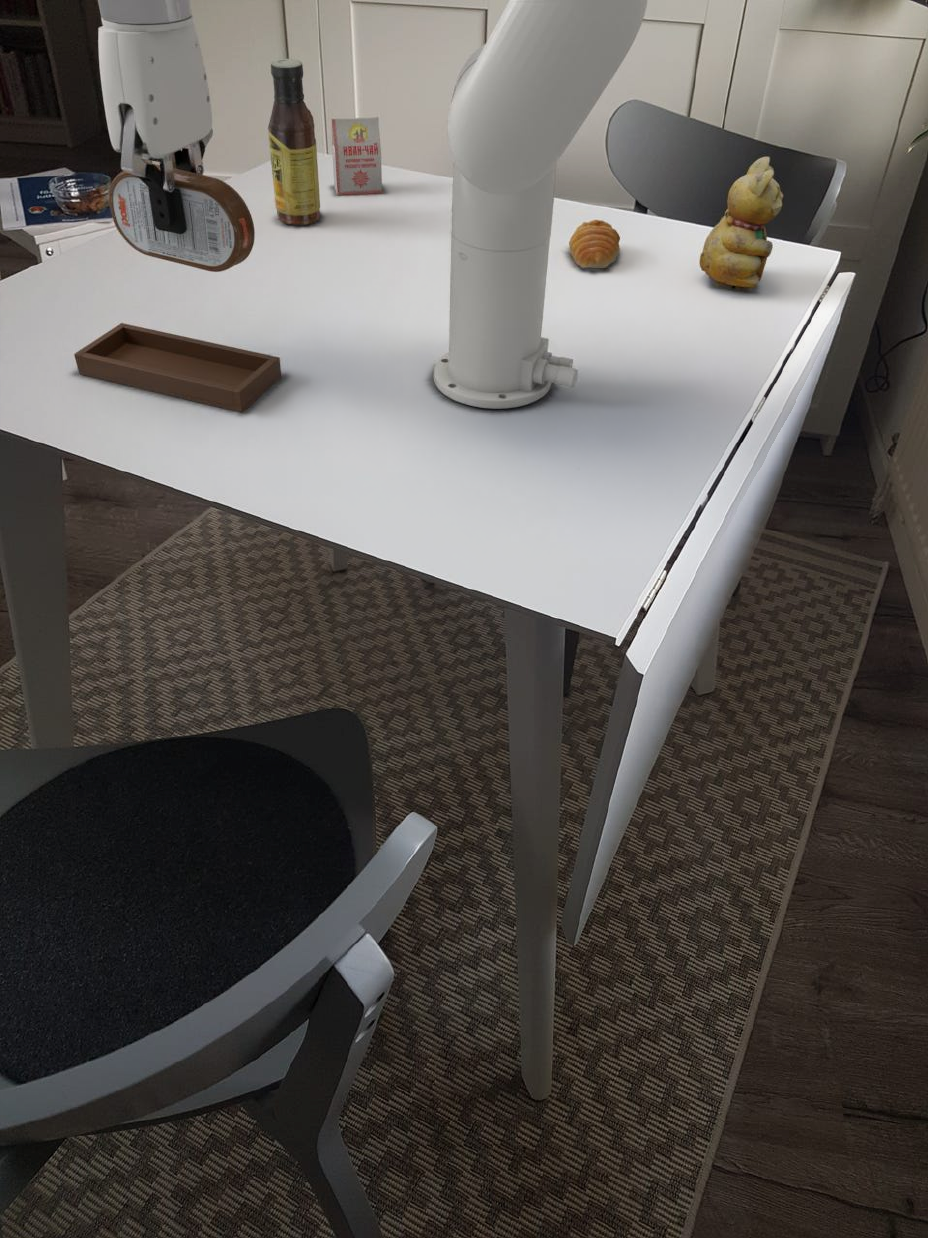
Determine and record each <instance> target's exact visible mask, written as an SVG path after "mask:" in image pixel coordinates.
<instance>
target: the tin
mask: <svg viewBox="0 0 928 1238" xmlns="http://www.w3.org/2000/svg"><path fill="white" fill-rule="evenodd" d="M152 164H153V165H155V166H156V167H157V168H158V169H159V170H160V164H157V163H154V162H152ZM160 171H161V170H160ZM173 173H174V181H175V189H180V192H181V197H182V203H183V209H184V215H185V221H186V228H187V230H186V232H185V233H183V234H177V233H172V232H166V231H161V230H158V229H157V228H156V227H155V223H154V217H153V212H152V206H151V201H150V195H149V190H148V188H145V187H144V186H143V183H142V181H141V180H140V179H139V178H138V177H137V176H136V175H133V174H130V173H127V172H124V171H123V170H122V171H120V173H118V174H117V175H116V176H115V177H113V179H112V181H111V183H110V184H109V187H108V202H109V203H108V204H109V209H110V214H111V217H112V221H113V224H114V226H115V228H116V230H117V232H118V233H119V234H120V236H121V237H122V238H123V240H125V242H126V243H127V244H128V245H129V246H131V247H132V248H133V249H134V250H136V251H138V252H139V253H141V254H143V255H145V256H147V257H151V258H155V259H159V260H164V261H168V262H172V263H176V264H179V265H184V266H188V267H191V268H194V269H195V268H196V269H199V270H203V271H207V272H212V273H220V272H225V271H227V270H229V269H231V268H233V267H234V266H237V265H239V264H241V263H242V262H244V261H245V260H246V259H247V258H248V257H249V256H250V254H251V253H252V250H253V248H254V245H255V234H256V233H255V224H254V220H253V217H252V214H251V211H250V209H249V207H248V205H247V203H246V201H245V200H244V199H243V197H242V196H241V195H240V194H239V193H238V191H236V190H235V189H234V188H233V187H232V186H231V185H230V184H228V183H227V182H225V181H224V180H222V179H219V178H217V177H212V176H207V175H204V174H203V175H200V174H195V173H191V172H187V171H182V170H178V169H174V168H173Z"/></svg>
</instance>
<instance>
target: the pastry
mask: <svg viewBox="0 0 928 1238" xmlns="http://www.w3.org/2000/svg"><path fill="white" fill-rule="evenodd" d="M620 240H621V237H620V234H619V232H618V231H617V230H616V229H615V228H613V227H612V224H610V223H608V222H607V221H604V220H600V219H592V220H590V221H587V222H586V221H585V222H582V223H581V224H580V225H579V226H577V227H576V229H575V231H574V232H573V234H572V235H571V237H570V240H569V241H568V246H569V252H570V254H571V257H572V259H573V260H574V263H575V265H577V266H580V267H581V268H582V269H583V268H584V269H586V268H596V269H597V268H598V269H607V268H608V267H609V265H611V264H613V263H615V261H616V259H617V256H618V255H619V253H620V250H621V247H620Z"/></svg>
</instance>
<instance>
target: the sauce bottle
mask: <svg viewBox="0 0 928 1238" xmlns="http://www.w3.org/2000/svg"><path fill="white" fill-rule="evenodd" d="M303 65H304V64H303V62H302V61H301V60H298V59H294V58H278V59H274V60H272V61H271V62H270V74H271V77H272V81H273V82H272V83H273V93H274V95H273V98H274V101H273V105H272V110H271V114H270V117H269V122H268V126H267V133H268V142H269V153H270V163H271V173H272V174H271V175H272V182H273V183H272V185H273V194H274V205H275V209H276V214H277V218H278V219H279V221H280V222H282V223H283V224H285V225H292V226H306V225H312V224H315V223H316V222H317V221H318V220H319V219H320V216H321V211H320V210H321V199H320V181H319V180H320V179H319V165H318V152H317V151H318V150H317V139H316V133H315V121H314V116H313V114H312V112H311V110H310V109H309V108H308V107H307V105H306V103H305V102H304V101H305V93H304V85H303V79H304V66H303Z"/></svg>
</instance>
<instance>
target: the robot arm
mask: <svg viewBox="0 0 928 1238" xmlns="http://www.w3.org/2000/svg"><path fill="white" fill-rule="evenodd" d="M97 3H98V8H99V13H100V19H101V25H102V26H99V27H98V29H97V30H98V31H97V34H98V36H97V37H98V38H97V39H98V40H97V43H98V44H97V45H98V46H97V48H98V64H99V74H100V85H101V91H102V92H101V93H102V98H103V99H102V100H103V106H104V112H105V119H106V125H107V130H108V135H109V139H110V143H111V147H112V149H113V150H114V151H115V152H117V153H120V155H121V156H120V157H121V158H120V169H121V171H122V172H123V171H124V172H127V173H130V174H133V175H136V176H137V177H138V178H139V179H140V180H141V181H142V183H143V186H144V187H145V188H148V190H149V195H150V201H151V206H152V212H153V217H154V223H155V227H156V228H157V229H158V230H161V231H166V232H172V233H177V234H183V233H185V232H186V230H187V228H186V221H185V215H184V209H183V203H182V197H181V192H180V189H175V181H174V173H173V168H174V169H178V170H182V171H187V172H191V173H195V174H200V175H204V173H205V168H204V167H205V166H204V162H203V159H204V155H205V152H206V148H207V146H208V144H209V142H210V141H211V139H212V137H213V136H214V135H213V134H214V131H213V113H212V112H213V111H212V103H211V96H210V90H209V89H210V88H209V83H208V78H207V72H206V67H205V63H204V62H205V61H204V57H203V53H202V49H201V45H200V41H199V37H198V33H197V29H196V25H195V21H194V16H193V9H192V3H191V0H97ZM647 6H648V0H509V1H508V2H507V4H506V6H505V8H504V10H503V12H502V14H501V15H500V17H499V19H498V21H497V23H496V25H495V26H494V28H493V30H492V32H491V34H490V36H489V38H488V39H487V41H486V42H485V43H484V44H482V45H481V46H479V48H477V49H476V50H475V51H474V52H472V54H471V55H470V56H469V58H468V59H467V60H466V61H465V63H464V64H463V66H462V68H461V70H460V72H459V74H458V77H457V79H456V82H455V86H454V89H453V93H452V98H451V102H450V107H449V111H448V116H447V130H446V133H447V134H446V135H447V142H448V143H447V144H448V148H449V152H450V156H451V158H452V160H453V164H452V167H453V168H452V192H451V193H452V195H451V196H452V197H451V200H452V201H451V230H450V231H451V232H450V269H449V270H450V273H449V274H450V275H449V277H450V280H449V282H450V283H449V318H448V319H449V320H448V321H449V323H448V325H449V326H448V328H449V329H448V333H449V334H448V352H447V353H445V354H444V355H442V356H441V357H439V358H438V360H437V361H436V362H435V364H434V366H433V382H434V385H435V386H436V388H437V390H438V391H440V392H441V393H442V394H443V395H444V396H446V397H448V398H449V399H451V400H453V401H455V402H457V403H460V404H463V405H466V406H470V407H476V408H481V409H490V410H491V409H492V410H501V409H513V408H519V407H522V406H527V405H529V404H532V403H534V402H537V401H538V400H540V399H541V398H543V397H544V396H546V395H547V394H548V393H549V390H550V389H551V388H552V384H556V385H557V386H562V387H567V388H571V389H575V386H576V384H577V380H578V376H579V369H578V368H576V367H575V368H574V367H573V364H574V359H573V358H570V357H564V356H557V355H553V353H552V352H550V351H549V342H550V341H549V340H550V339H549V338H546V337H542V332H543V320H544V310H545V309H544V308H545V298H546V286H547V276H548V275H547V274H548V265H549V253H550V242H551V235H552V223H553V214H554V213H553V211H554V201H555V189H556V177H557V165H558V164H557V163H558V161H559V160H560V158H562V155H563V154H564V153H565V151H566V149H567V148H568V147H569V145H570V144H571V142H572V140H573V139H574V137H575V136H576V135H577V133H578V131H579V130H580V128H581V127H582V125H583V124H584V122H585V121H586V119H587V118H588V116H589V114H590V113H591V112H592V110H593V108H594V107H595V105H596V104H597V102H598V101H599V99H600V98H601V96H602V94H603V93H604V92H605V90H606V88H607V87H608V86H609V84H610V82H611V81H612V79H613V77H614V76H615V75H616V73H617V71H618V70H619V68H620V66H621V65H622V63H623V62H624V60H625V58H626V57H627V55H628V53H629V51H630V50H631V48H632V46H633V44H634V42H635V40H636V39H637V35H638V34H639V32H640V29H641V27H642V24H643V21H644V19H645V15H646V9H647ZM153 162H155V163H159V165H160V170H161V171H160V170H159V169H158V168H157V167H156V166H155V165H153V164H154V163H153ZM152 163H153V164H152Z"/></svg>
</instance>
